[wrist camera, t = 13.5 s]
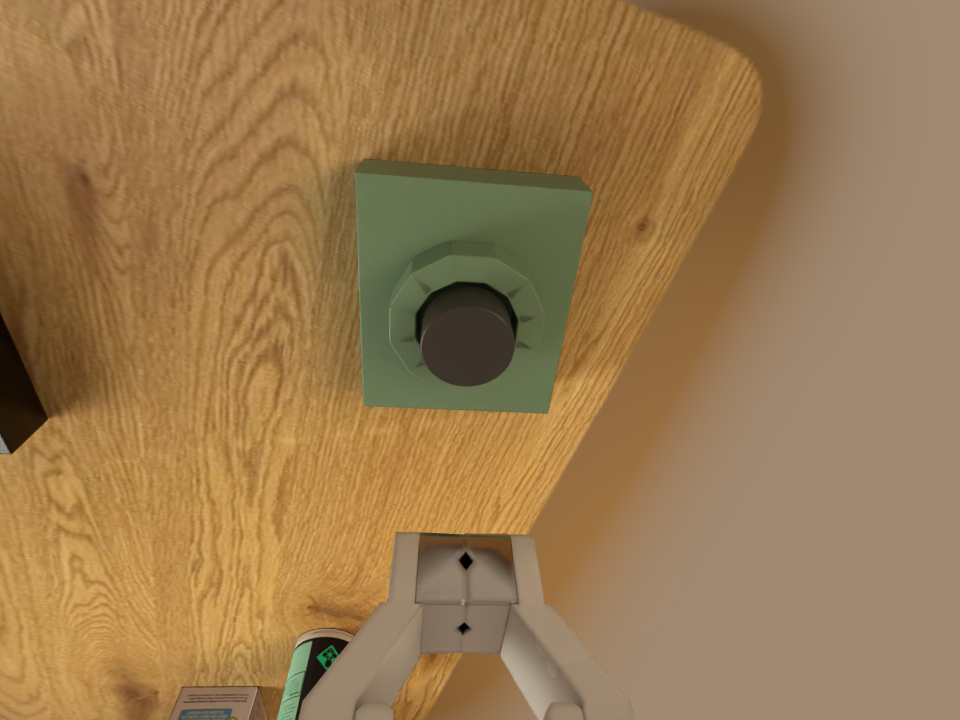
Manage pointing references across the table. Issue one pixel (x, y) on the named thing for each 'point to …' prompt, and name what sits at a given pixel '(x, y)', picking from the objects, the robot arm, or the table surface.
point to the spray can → (310, 666)
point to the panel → (16, 397)
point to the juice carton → (219, 704)
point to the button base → (464, 274)
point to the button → (467, 336)
